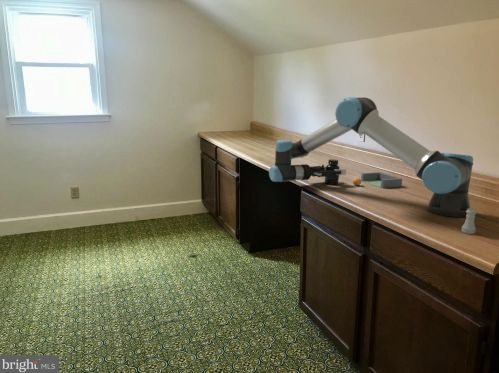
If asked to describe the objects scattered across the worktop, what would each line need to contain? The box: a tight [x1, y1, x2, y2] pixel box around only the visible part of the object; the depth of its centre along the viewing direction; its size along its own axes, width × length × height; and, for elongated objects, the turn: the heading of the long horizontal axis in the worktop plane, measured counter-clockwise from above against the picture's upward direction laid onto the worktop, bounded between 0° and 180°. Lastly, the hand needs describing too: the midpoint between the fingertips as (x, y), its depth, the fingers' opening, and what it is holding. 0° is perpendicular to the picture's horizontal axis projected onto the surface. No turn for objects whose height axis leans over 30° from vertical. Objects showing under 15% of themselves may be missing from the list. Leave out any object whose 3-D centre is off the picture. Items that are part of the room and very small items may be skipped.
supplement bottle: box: [324, 158, 341, 186], centre depth 204 cm, size 7×7×12 cm
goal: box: [360, 171, 403, 189], centre depth 208 cm, size 12×17×4 cm
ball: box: [352, 177, 362, 186], centre depth 202 cm, size 4×4×4 cm
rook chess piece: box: [460, 208, 478, 235], centre depth 138 cm, size 4×4×8 cm
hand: (340, 170), depth 206 cm, fingers open, 8 cm apart
